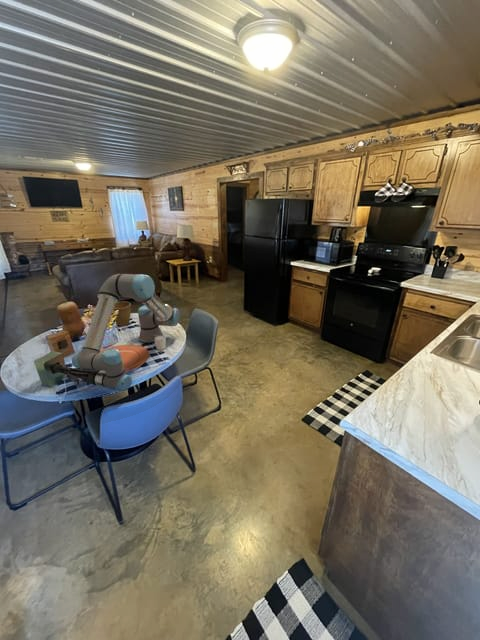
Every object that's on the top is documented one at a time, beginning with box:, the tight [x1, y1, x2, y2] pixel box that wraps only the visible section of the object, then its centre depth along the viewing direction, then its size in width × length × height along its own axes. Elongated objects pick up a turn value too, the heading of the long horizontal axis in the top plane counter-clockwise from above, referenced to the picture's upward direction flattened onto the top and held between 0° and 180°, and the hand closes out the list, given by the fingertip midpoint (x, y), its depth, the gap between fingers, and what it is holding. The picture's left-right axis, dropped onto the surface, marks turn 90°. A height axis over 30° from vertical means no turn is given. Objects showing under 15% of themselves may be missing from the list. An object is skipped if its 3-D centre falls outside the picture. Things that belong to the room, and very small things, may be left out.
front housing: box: [33, 351, 67, 388], centre depth 132 cm, size 6×10×14 cm, turn 163°
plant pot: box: [113, 301, 132, 327], centre depth 197 cm, size 15×15×16 cm
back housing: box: [45, 329, 76, 358], centre depth 156 cm, size 6×10×14 cm, turn 148°
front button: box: [51, 364, 63, 373], centre depth 131 cm, size 3×4×4 cm
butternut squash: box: [56, 301, 86, 339], centre depth 175 cm, size 14×13×25 cm
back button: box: [58, 341, 68, 349], centre depth 153 cm, size 3×4×4 cm
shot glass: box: [154, 335, 167, 351], centre depth 165 cm, size 7×7×7 cm
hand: (61, 369), depth 130 cm, fingers closed
